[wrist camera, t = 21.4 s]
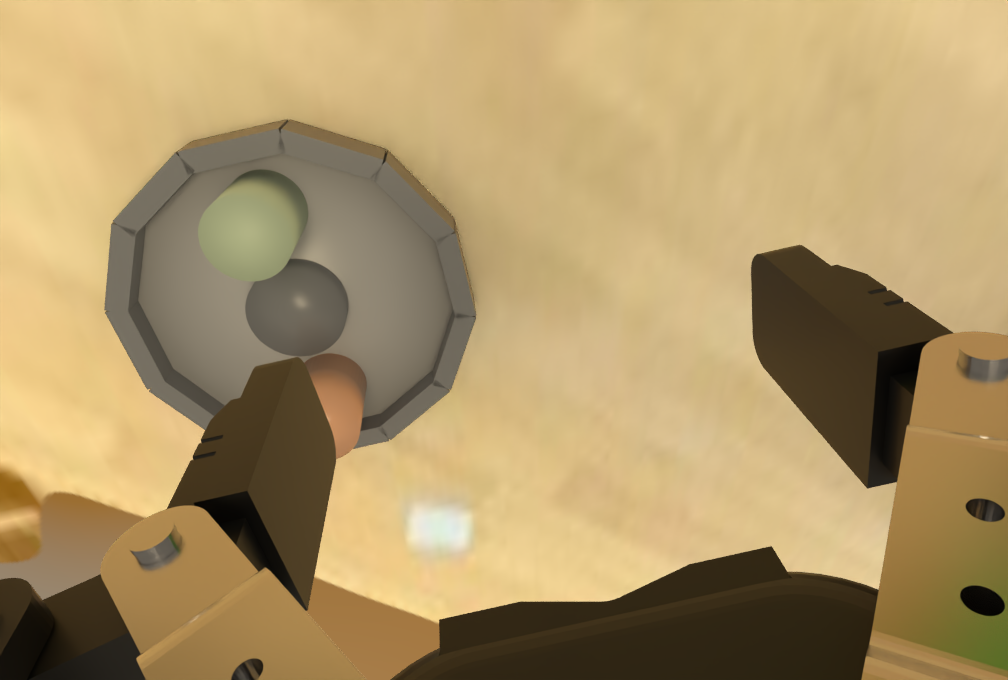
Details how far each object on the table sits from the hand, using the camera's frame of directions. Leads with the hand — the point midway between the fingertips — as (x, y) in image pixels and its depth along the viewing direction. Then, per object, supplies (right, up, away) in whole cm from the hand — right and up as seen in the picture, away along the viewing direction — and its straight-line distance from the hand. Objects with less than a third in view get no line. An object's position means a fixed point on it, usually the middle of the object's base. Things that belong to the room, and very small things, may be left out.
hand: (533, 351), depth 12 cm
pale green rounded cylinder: (-14, +7, +25) cm, 30 cm away
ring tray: (-13, +3, +29) cm, 32 cm away
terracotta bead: (-11, -3, +31) cm, 33 cm away
